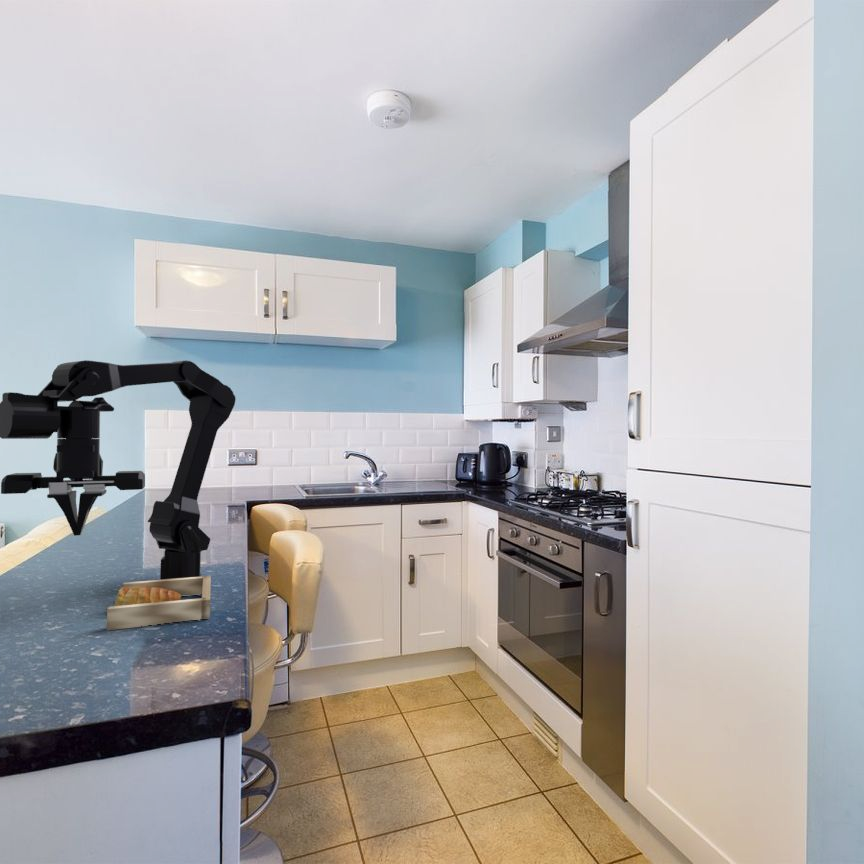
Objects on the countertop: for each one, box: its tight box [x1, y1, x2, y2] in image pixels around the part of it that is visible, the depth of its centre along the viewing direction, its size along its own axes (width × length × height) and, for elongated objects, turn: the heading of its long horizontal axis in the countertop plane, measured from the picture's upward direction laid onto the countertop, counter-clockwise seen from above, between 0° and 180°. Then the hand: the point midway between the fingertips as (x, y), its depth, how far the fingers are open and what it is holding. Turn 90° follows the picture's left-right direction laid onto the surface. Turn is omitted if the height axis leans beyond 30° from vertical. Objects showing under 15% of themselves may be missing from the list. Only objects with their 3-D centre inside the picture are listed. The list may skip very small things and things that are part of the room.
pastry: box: [114, 586, 182, 606], centre depth 85 cm, size 9×7×4 cm
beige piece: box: [106, 575, 212, 631], centre depth 85 cm, size 14×15×3 cm
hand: (77, 535), depth 85 cm, fingers closed
